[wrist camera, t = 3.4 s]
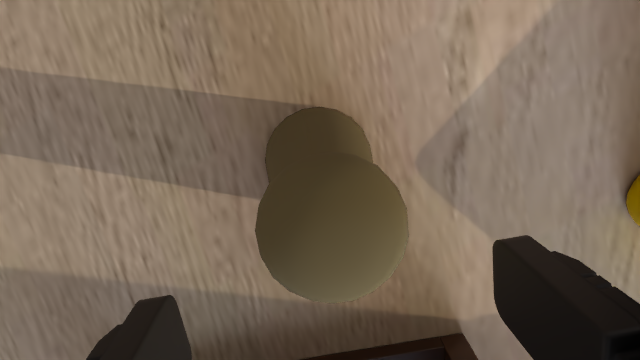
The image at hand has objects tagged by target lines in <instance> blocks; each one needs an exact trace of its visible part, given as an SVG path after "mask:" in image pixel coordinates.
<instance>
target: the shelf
mask: <svg viewBox="0 0 640 360" xmlns="http://www.w3.org/2000/svg"><path fill="white" fill-rule="evenodd" d="M301 360H478V358H477V357H476V355H475V353H474V352H473V350H472V348H471V346H470V345H469V343H468V341H467V340H466V338H465V336H464V335H463V333H461V334H455V335H449V336H443V337H440V338H439V337H436V338H430V339H424V340H418V341H411V342H405V343H399V344H393V345H387V346H381V347H375V348H369V349H363V350H356V351H350V352H344V353H338V354H332V355H326V356H320V357H314V358H308V359H301Z"/></svg>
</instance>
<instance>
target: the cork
mask: <svg viewBox="0 0 640 360" xmlns="http://www.w3.org/2000/svg"><path fill="white" fill-rule="evenodd" d="M265 163H266V168H267V173H268V178H269V183H270V184H269V186H268V188H267V190H266V192H265V194H264V195H263V197H262V199H261V201H260V204H259V207H258V213H257V221H256V228H255V232H256V237H257V242H258V247H259V252H260V255H261V258H262V260H263V261H264V263H265V265H266V266H267V268H268V270H269V271H270V273H271V275H272V276H273V278H275V279H276V280H277V281H278V282H279V283H280V284H282V285H283V286H284V287H285V288H286V289H287V290H289V291H290V292H292V293H295V294H297V295H299V296H302V297H304V298H306V299H309V300H311V301H315V302H323V303H331V304H335V303H341V302H348V301H354V300H356V299H358V298H361V297H363V296H365V295H367V294H370V293H372V292H373V291H374V290H376V289H377V288H378V287H379V286H380V285H382V284H383V283H384V282H385V281H386V280H388V279H389V278H390V277H391V276H392V274H393V272H394V271H395V269H396V268H397V266H398V265H399V263H400V262H401V260H402V259H403V256H404V252H405V249H406V245H407V241H408V237H409V234H408V221H407V208H406V206H405V203H404V201H403V199H402V197H401V194H400V192H399V190H398V188H397V186H396V185H395V184H394V183H393V182H392V181H391V180H390V178H389V177H388V176H387V175H386V174H385V173H384V172H383V171H382V170H381V169H380V168H379V167H378V166H377V165H375V164H373V160H372V154H371V149H370V145H369V142H368V140H367V138H366V136H365V134H364V131H363V130H362V129H361V128H360V126H359V125H358V124H357V123H356V122H355V121H354V120H353V119H352V118H351V117H349V116H347V115H345V114H343V113H341V112H340V111H338V110H334V109H329V108H323V107H316V108H309V109H302V110H300V111H298V112H296V113H294V114H292V115H290V116H288V117H287V118H286V119H285V120H284V121H283V122H282V123H281V124H280V125H279V126H278V127H277V128H276V129H275V130H274V132H273V134H272V136H271V138H270V140H269V142H268V144H267V150H266V157H265Z"/></svg>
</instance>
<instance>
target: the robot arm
mask: <svg viewBox="0 0 640 360" xmlns="http://www.w3.org/2000/svg"><path fill="white" fill-rule="evenodd" d="M493 281H494V299H495V304H496V307H497V310H498V312H499V315H500V317H501V318H502V320H503V321H504V323H505V324H506V325H507V327H508V328H509V329H510V330H511V332H512V333H513V334H514V335H515V337H516V338H517V339H518V340H519V342H520V343H521V344H522V346H523V347H524V348H525V349H526V351H527V352H528V353H529V354H530V356H531V357H532V358H533V359H534V360H640V304H639V303H637V302H636V301H635V300H633V299H632V298H630V297H629V296H628V295H626V294H625V293H623V292H622V291H621V290H619V289H618V288H616V287H612V286H611V283H609V282H608V281H607V280H605V279H604V278H602V277H601V276H600V275H599V276H597V275H596V273H595V272H594V271H593V270H591V269H590V268H588V267H587V266H586V265H584V264H583V263H581V262H580V261H579V260H576V259H574V258H571V257H569V256H566V255H564V254H561V253H558V252H556V251H553V252H550V251H549V250H547V249H546V248H545V247H544V246H542V245H541V244H540V243H538V242H537V241H536V240H534V239H533V238H532V237H530V236H528V235H525V236H519V237H513V238H507V239H501V240H496V241H495V242H494V244H493ZM86 360H192V355H191V348H190V344H189V341H188V338H187V334H186V331H185V328H184V325H183V322H182V318H181V315H180V312H179V309H178V306H177V303H176V300H175V299H174V297H173V296H171V295H167V296H162V297H156V298H150V299H144V300H139V301H138V302H137V303H136V304H135V306H134V307H133V309H132V310H131V312H130V313H129V315H128V317H127V318H126V320H125V321H124V323H123V324H120V325H117V326H116V327H115V328H114V329H112V330H111V331H110V332H109V333H108V334H107V335H105V336H104V337H103V338H102V339H101V340H100V341H98V343H97V344H96V346H95V347H94V349H93V350H92V351H91V353H90V354H89V356H88V357H87V359H86Z"/></svg>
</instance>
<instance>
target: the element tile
mask: <svg viewBox="0 0 640 360" xmlns="http://www.w3.org/2000/svg"><path fill="white" fill-rule="evenodd" d="M626 205H627V209H628V212H629V214H630V216H631V217H632V218H633V220H634V221H635V222H636V223H637V224H638V225H639V226H640V175H639V176H638V177H637V178H636V180H635V181H634V182H633V184H632V186H631V188H630V189H629V191H628V193H627V200H626Z"/></svg>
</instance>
